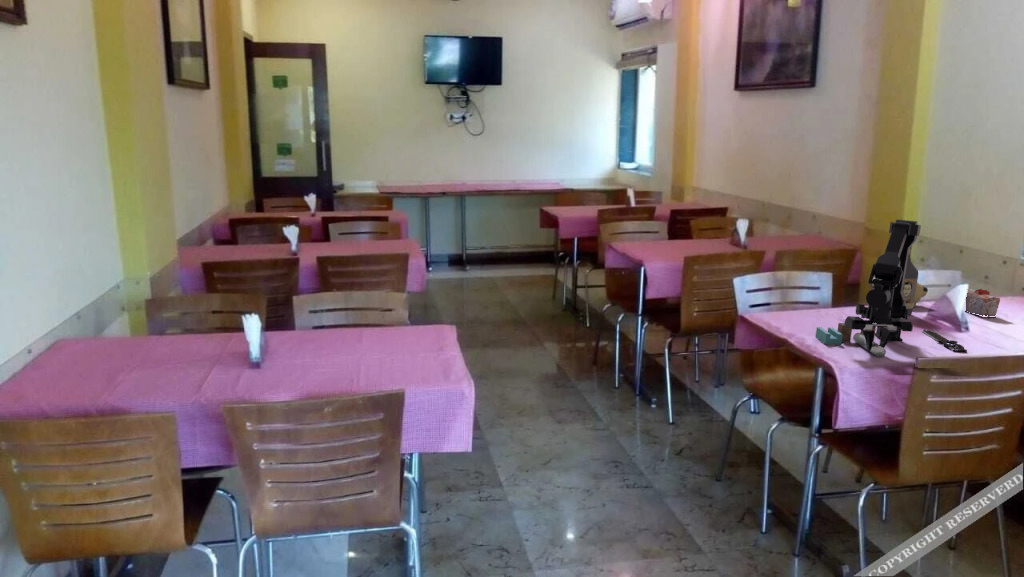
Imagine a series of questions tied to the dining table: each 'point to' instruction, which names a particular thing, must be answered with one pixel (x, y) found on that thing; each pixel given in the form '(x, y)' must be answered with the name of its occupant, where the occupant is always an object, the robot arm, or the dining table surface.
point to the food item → (981, 302)
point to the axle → (875, 347)
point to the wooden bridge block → (848, 332)
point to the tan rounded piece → (919, 293)
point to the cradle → (829, 336)
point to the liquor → (910, 284)
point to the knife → (945, 341)
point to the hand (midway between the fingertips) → (874, 350)
